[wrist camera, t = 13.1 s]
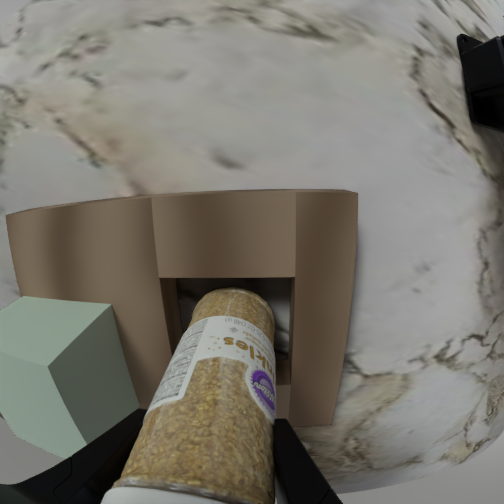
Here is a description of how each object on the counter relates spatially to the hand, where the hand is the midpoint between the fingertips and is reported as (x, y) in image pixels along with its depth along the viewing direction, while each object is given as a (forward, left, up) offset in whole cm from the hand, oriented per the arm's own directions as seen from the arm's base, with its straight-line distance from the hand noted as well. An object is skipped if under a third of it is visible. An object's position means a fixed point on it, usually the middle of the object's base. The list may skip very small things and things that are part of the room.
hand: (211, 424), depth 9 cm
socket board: (+4, 0, -8) cm, 9 cm away
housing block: (+10, +2, -6) cm, 12 cm away
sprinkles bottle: (0, 0, -8) cm, 8 cm away
